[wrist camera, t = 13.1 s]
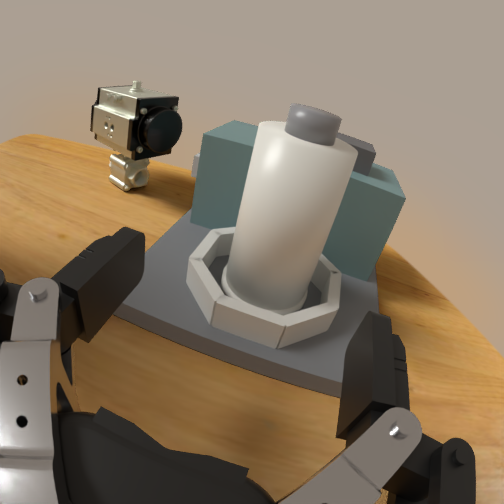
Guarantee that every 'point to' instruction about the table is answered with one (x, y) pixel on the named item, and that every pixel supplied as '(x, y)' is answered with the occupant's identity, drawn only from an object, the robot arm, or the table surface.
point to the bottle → (287, 209)
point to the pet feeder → (251, 317)
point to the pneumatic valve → (135, 129)
